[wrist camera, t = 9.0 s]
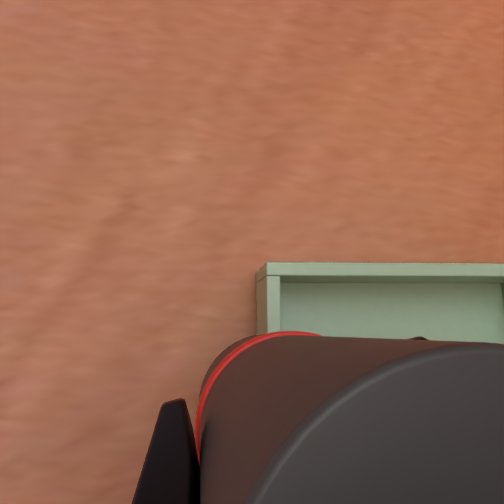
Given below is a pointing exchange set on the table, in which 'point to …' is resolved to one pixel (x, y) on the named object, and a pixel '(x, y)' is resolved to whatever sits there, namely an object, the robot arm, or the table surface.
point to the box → (383, 300)
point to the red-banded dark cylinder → (352, 421)
